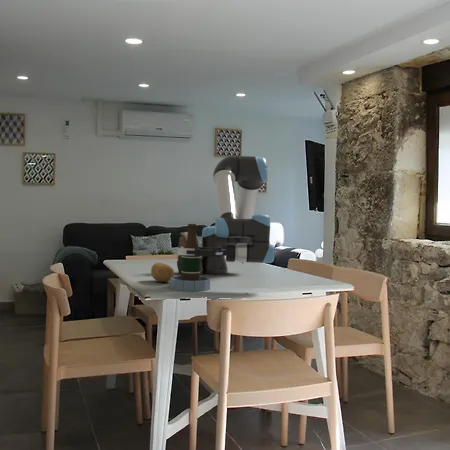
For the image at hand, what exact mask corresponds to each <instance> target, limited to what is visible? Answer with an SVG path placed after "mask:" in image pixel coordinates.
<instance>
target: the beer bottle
mask: <svg viewBox="0 0 450 450" xmlns="http://www.w3.org/2000/svg"><path fill="white" fill-rule="evenodd" d="M197 227H198V225H197V224H196V223H188V224H187V232H188V235H187V243H186V245H185V246H184V248H190V249H195V247H196V248H197V249H200V248H199V247H200V246H199V244H198V245H197V241H196V234H197ZM198 246H199V247H198ZM200 265H201V256H191V255H182V262H181V275H180V276H181V280H189V281H198V280H200V276H201V275H200Z"/></svg>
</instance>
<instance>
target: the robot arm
mask: <svg viewBox="0 0 450 450" xmlns="http://www.w3.org/2000/svg"><path fill="white" fill-rule="evenodd" d="M212 177H213V178H212V179H213V184H215V186H216V195H217V207H218V208H217V210H218V217H217V218H216V219H215V221H214V225H212V226H205V227H203V229H202V232H201V233H202V234H201V246H199V248H200V249H197V248H196V247H195V249H190V248H184V247H180V248H178V247H177V251H178V252H177V255H191V256H201V262H202V269H203V272H202V274H205V275H207V274H208V275H225V274H228V272H229V270H228V269H229V268H228V265H227V262H228V263H229V262H232V263H234V262H237V263H241V264H242V265H243V264H244V263H251V264H255V263H256V264H257V263H258V264H272V263H273V262H274V260H275V249H276V248H275V245H274V244H271V242H270V240H271V239H270V238H271V237H270V235H271V217H270V216H269V215H268V214H255V212H256V211H255V210H256V204H257V199H258V192H259V190H260V189H261V188H262V187H263V184H266V183H267V181H268V165H267V161H266V158H265V157H263V156H257V155H256V156H255V155H254V156H246V155H228V156H226V157H224V158H222V159H221V160H220V161H219V162H218V163H217V164H216V166H215V167H214V171H213V174H212ZM235 182H237V185H238V187H239V191H238V197H237V198H238V199H237V201H236V193H235V185H234V183H235Z"/></svg>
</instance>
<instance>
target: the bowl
mask: <svg viewBox="0 0 450 450" xmlns="http://www.w3.org/2000/svg"><path fill="white" fill-rule="evenodd" d="M169 285H170V286H169V288H170V289H171V290H174V291H175V290H176V291H181V292H204V291H209V290H211V277H208V276H204V275H200V280H198V281H189V280H181V275H174V276H173V277H171V278H170V281H169Z"/></svg>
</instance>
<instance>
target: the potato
mask: <svg viewBox="0 0 450 450" xmlns="http://www.w3.org/2000/svg"><path fill="white" fill-rule="evenodd" d="M150 269H151V270H150V271H151V272H150V273H151V277H152V278H153V279H154V280H155V281H157V282H159V283H168V282H170V278H171V277H173V276H175V271H174V269H173V267H171V266H170V265H168V263H167V264H166V263H163V262H156V263H154V264H153V265H152V266H151V268H150Z"/></svg>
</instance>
